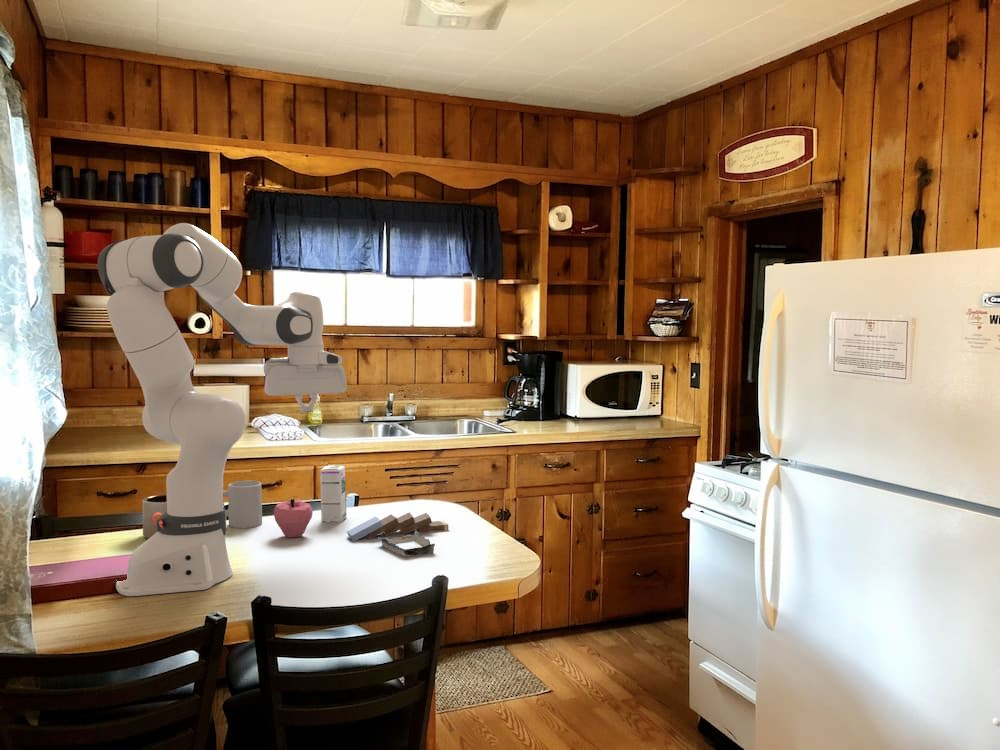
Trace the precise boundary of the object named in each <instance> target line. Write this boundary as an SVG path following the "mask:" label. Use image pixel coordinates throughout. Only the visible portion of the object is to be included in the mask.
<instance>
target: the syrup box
mask: <svg viewBox="0 0 1000 750" xmlns="http://www.w3.org/2000/svg"><path fill="white" fill-rule="evenodd" d="M319 475H320V476H319V477H320V478H319V479H320V512H321V513H320V515H321V522H322V521H333V522H332V523H342V522H343V521H344V520H345V519H346V518H347V492H346V491H347V486H346V466H345V465H339V464H338V465H337V464H336V465H335V464H334V465H325V466H324V467H322V468H321V469H320V470H319ZM334 521H335V522H334ZM336 521H337V522H336ZM339 521H340V522H339Z"/></svg>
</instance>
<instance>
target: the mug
mask: <svg viewBox="0 0 1000 750" xmlns="http://www.w3.org/2000/svg"><path fill="white" fill-rule="evenodd" d="M262 493H263V492H262V483H261V482H260V481H259V480H241V481H240V480H239V481H238V480H237V481H234V482H233V481H232V482H230V483H228V487H227V489H226V490H223V498H224V497H225V498H227V500H228V501H227V503H228V506H227V507H228V508H227V509H225V513H226V518H228V526H229V527H230V528H232V527H234V528H233V529H250V527H252V528H255V526H256V527H259V526H260V525H262V524H263V499H262V498H263V497H262V495H263V494H262Z"/></svg>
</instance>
